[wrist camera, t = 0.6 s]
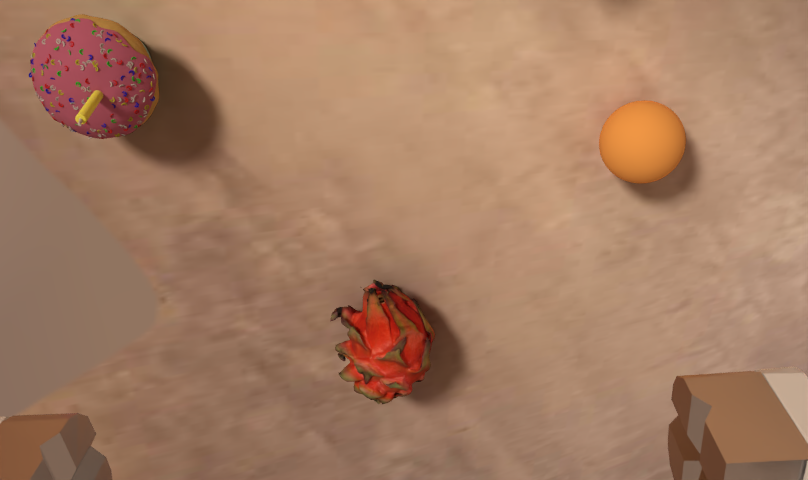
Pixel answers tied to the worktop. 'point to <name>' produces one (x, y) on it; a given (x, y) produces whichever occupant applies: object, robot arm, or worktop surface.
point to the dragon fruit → (385, 343)
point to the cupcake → (94, 77)
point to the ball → (642, 142)
